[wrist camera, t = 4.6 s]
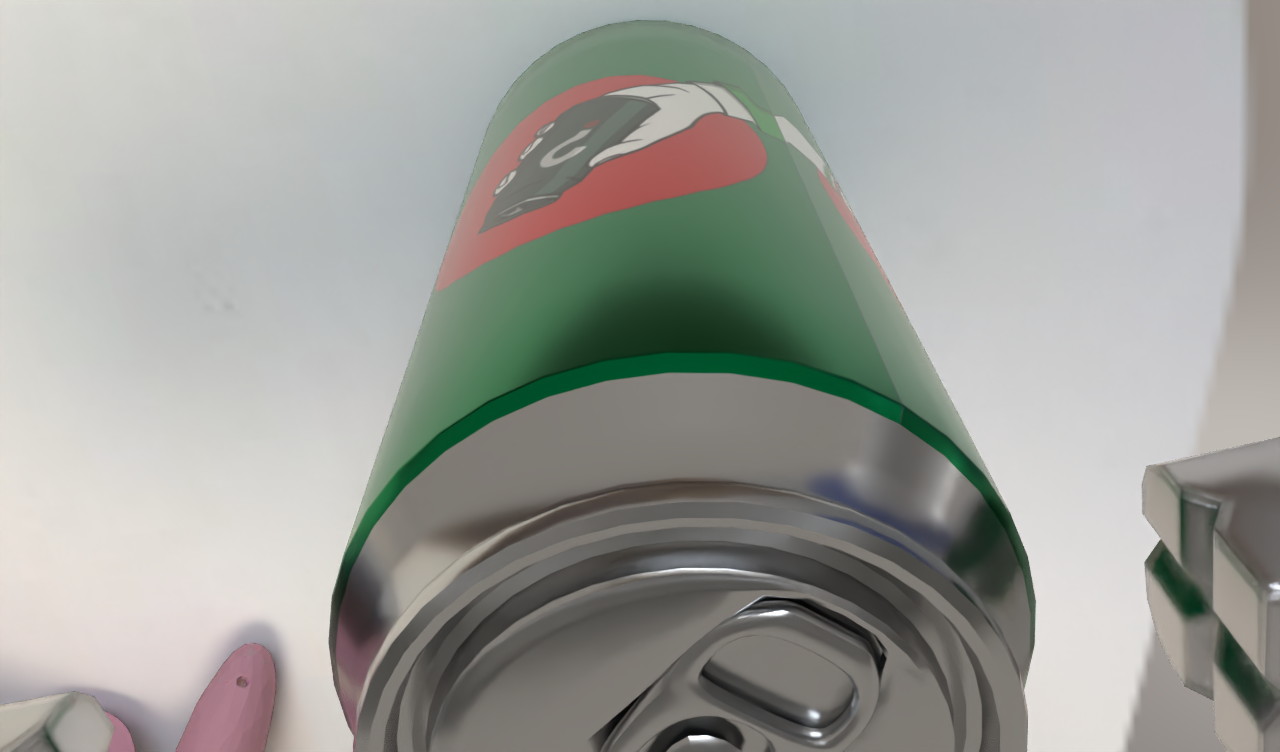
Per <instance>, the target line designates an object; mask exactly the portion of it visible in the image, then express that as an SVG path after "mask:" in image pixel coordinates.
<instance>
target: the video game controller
mask: <svg viewBox="0 0 1280 752" xmlns="http://www.w3.org/2000/svg"><path fill="white" fill-rule="evenodd" d="M275 693H276V671H275V665H274V662H273V659H272V657H271V654H270V653H269V652H268V651H267V650H266V649H265V648H264V647H263V646H261V645H259V644H256V643H251V644H245V645H243V646H242V647H240V648H239V649H237V650H236V651H234V652H233V653H232V654H231V655H230V657H229V658H228V659H227V660H226V661H225V662H224V663H223V665H222V666H221V668H220V669H219V671H218V672H217V674H216V675H215V676H214V678H213V679H212V681H211V682H210V684H209V685H208V687H207V688H206V689H205V691H204V692H203V694H202V696H201V697H200V699H199V701H198V703H197V704H196V706H195V708H194V711H193V713H192V715H191V717H190V720H189V722H188V724H187V726H186V728H185V731H184V733H183V735H182V737H181V740H180V742H179V744H178V746H177V748H176V751H175V752H264V750H265V745H266V741H267V736H268V732H269V727H270V723H271V718H272V713H273V707H274V700H275ZM104 712H105V711H104ZM105 713H106V715H107V716H108V718H109V719H110V721H111V722H112V724H113V725H114V727H115V729H114V733H113V737H112V740H111V744H110V748H109V752H136V751H135V746H134V744H133V741H132V738H131V735H130V733H129V731H128V729H127V728H126V726H125V725H124V724H123V723H122V722H121V721H120V720H119V719H118V718H116V717H115V716H113V715H111V714H109V713H107V712H105Z"/></svg>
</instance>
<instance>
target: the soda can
mask: <svg viewBox="0 0 1280 752" xmlns="http://www.w3.org/2000/svg"><path fill="white" fill-rule="evenodd" d="M1035 608H1036V600H1035V594H1034V589H1033V583H1032V577H1031V572H1030V566H1029V561H1028V556H1027V554H1026V551H1025V549H1024V546H1023V544H1022V541H1021V539H1020V536H1019V534H1018V531H1017V529H1016V526H1015V524H1014V521H1013V519H1012V516H1011V514H1010V512H1009V510H1008V508H1007V506H1006V504H1005V502H1004V500H1003V498H1002V496H1001V495H1000V493H999V491H998V489H997V487H996V485H995V483H994V481H993V479H992V477H991V475H990V474H989V472H988V470H987V468H986V466H985V464H984V462H983V460H982V458H981V456H980V454H979V453H978V451H977V449H976V447H975V445H974V443H973V441H972V439H971V437H970V435H969V433H968V432H967V430H966V428H965V426H964V424H963V422H962V420H961V418H960V416H959V414H958V412H957V411H956V409H955V407H954V405H953V403H952V401H951V399H950V397H949V395H948V393H947V391H946V390H945V388H944V386H943V384H942V382H941V380H940V378H939V376H938V374H937V372H936V370H935V369H934V367H933V365H932V363H931V361H930V359H929V357H928V355H927V353H926V351H925V349H924V348H923V346H922V344H921V342H920V340H919V338H918V336H917V334H916V332H915V330H914V328H913V327H912V325H911V323H910V321H909V319H908V317H907V315H906V313H905V311H904V309H903V307H902V306H901V304H900V302H899V300H898V298H897V296H896V294H895V292H894V290H893V288H892V286H891V285H890V283H889V281H888V279H887V277H886V275H885V273H884V271H883V269H882V267H881V265H880V264H879V262H878V260H877V258H876V256H875V254H874V252H873V250H872V248H871V246H870V244H869V243H868V241H867V239H866V237H865V235H864V233H863V231H862V229H861V227H860V225H859V223H858V222H857V220H856V218H855V216H854V214H853V212H852V210H851V208H850V206H849V204H848V202H847V200H846V199H845V197H844V195H843V193H842V191H841V189H840V187H839V185H838V183H837V181H836V179H835V178H834V176H833V174H832V172H831V170H830V168H829V166H828V164H827V162H826V160H825V158H824V157H823V155H822V153H821V151H820V149H819V147H818V145H817V143H816V141H815V139H814V137H813V136H812V134H811V132H810V130H809V128H808V126H807V124H806V122H805V120H804V118H803V116H802V115H801V113H800V111H799V109H798V107H797V106H796V104H795V102H794V101H793V99H792V98H791V96H790V95H789V93H788V91H787V90H786V88H785V87H784V85H783V84H782V83H781V82H780V81H779V80H778V79H777V78H776V76H775V75H774V74H773V73H772V72H771V71H770V70H769V69H768V68H767V67H766V66H765V65H764V64H763V63H762V62H760V61H759V60H758V59H757V58H755V57H754V56H753V55H752V54H750V53H749V52H748V51H747V50H745V49H744V48H742V47H740V46H739V45H737V44H735V43H733V42H731V41H730V40H728V39H726V38H724V37H722V36H720V35H718V34H715V33H712V32H709V31H707V30H704V29H701V28H698V27H695V26H692V25H686V24H681V23H675V22H670V21H650V20H636V21H629V22H622V23H615V24H609V25H605V26H602V27H599V28H596V29H593V30H589V31H586V32H583V33H581V34H579V35H577V36H575V37H573V38H571V39H569V40H567V41H565V42H563V43H561V44H559V45H557V46H556V47H554V48H553V49H551V50H550V51H549V52H547V53H546V54H544V55H543V56H542V57H540V58H539V59H538V60H536V61H535V62H534V63H533V64H532V65H531V66H530V67H529V68H528V69H527V70H526V71H525V72H524V73H523V74H522V75H521V76H520V77H519V78H518V79H517V80H516V81H515V82H514V84H513V85H512V86H511V88H510V89H509V91H508V92H507V94H506V95H505V96H504V98H503V99H502V101H501V102H500V103H499V105H498V108H497V110H496V112H495V114H494V116H493V118H492V120H491V122H490V124H489V126H488V129H487V132H486V134H485V137H484V140H483V143H482V146H481V149H480V152H479V155H478V158H477V161H476V164H475V167H474V170H473V173H472V176H471V179H470V182H469V185H468V188H467V191H466V194H465V197H464V200H463V203H462V206H461V209H460V212H459V214H458V217H457V220H456V223H455V226H454V229H453V232H452V235H451V238H450V241H449V244H448V247H447V250H446V253H445V256H444V259H443V262H442V265H441V268H440V271H439V274H438V277H437V280H436V283H435V286H434V289H433V291H432V294H431V297H430V300H429V303H428V306H427V309H426V312H425V315H424V318H423V321H422V324H421V327H420V330H419V333H418V336H417V339H416V342H415V345H414V348H413V351H412V354H411V357H410V360H409V363H408V366H407V368H406V371H405V374H404V377H403V380H402V383H401V386H400V389H399V392H398V395H397V398H396V401H395V404H394V407H393V410H392V413H391V416H390V419H389V422H388V425H387V428H386V431H385V434H384V437H383V440H382V443H381V445H380V448H379V451H378V454H377V457H376V460H375V463H374V466H373V469H372V472H371V475H370V478H369V481H368V484H367V487H366V490H365V493H364V496H363V499H362V502H361V505H360V508H359V511H358V514H357V517H356V520H355V523H354V525H353V528H352V531H351V534H350V537H349V540H348V543H347V546H346V549H345V552H344V556H343V559H342V563H341V566H340V570H339V573H338V577H337V580H336V584H335V587H334V591H333V594H332V601H331V615H330V629H329V649H330V657H331V665H332V672H333V680H334V686H335V689H336V692H337V695H338V698H339V700H340V703H341V706H342V709H343V712H344V715H345V718H346V721H347V724H348V727H349V728H350V730H351V732H352V734H353V735H354V743H353V752H1027V733H1028V711H1027V705H1026V700H1025V694H1024V688H1025V684H1026V679H1027V675H1028V671H1029V666H1030V662H1031V658H1032V654H1033V649H1034V643H1035Z"/></svg>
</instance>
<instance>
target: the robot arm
mask: <svg viewBox="0 0 1280 752" xmlns="http://www.w3.org/2000/svg"><path fill="white" fill-rule="evenodd" d="M1142 512H1143V515H1144V516H1145V517H1146V519H1147V520H1148V522H1149V523H1150V524H1151V526H1152V527H1153V528H1154V530H1155V531H1156V533H1157V534H1158V535H1159V537H1160V538H1161V539H1160V541H1159V542H1158V544H1157V545H1156V547H1155V548H1154V549H1153V551H1152V552H1151V554H1150V555H1149V557H1148V558H1147V559H1146V561H1145V562H1144V563H1145V576H1146V590H1147V600H1148V604H1149V607H1150V611H1151V615H1152V619H1153V622H1154V626H1155V630H1156V634H1157V636H1158V639H1159V641H1160V643H1161V645H1162V647H1163V649H1164V652H1165V654H1166V656H1167V658H1168V660H1169V662H1170V664H1171V665H1172V667H1173V668H1174V670H1175V672H1176V673H1177V675H1178V677H1179V678H1180V680H1181V681H1182V683H1183V684H1184V686H1185V687H1187V688H1189V689H1191V690H1193V691H1195V692H1197V693H1199V694H1201V695H1203V696H1205V697H1207V698H1209V699H1211V700H1213V701H1214V732H1215V733H1216V735H1217V737H1218V738H1219V739H1220V741H1221V743H1222V744H1223V746H1224V747H1225V749H1226V750H1227V752H1280V437H1277V438H1273V439H1268V440H1264V441H1259V442H1255V443H1250V444H1245V445H1241V446H1236V447H1232V448H1227V449H1222V450H1218V451H1213V452H1209V453H1204V454H1200V455H1195V456H1190V457H1186V458H1181V459H1177V460H1172V461H1168V462H1163V463H1158V464H1154V465H1149V466H1146V470H1145V474H1144V478H1143V482H1142ZM114 729H115V727H114V725H113V724H112V722H111V721H110V719H109V718H108V716H107V715H106V713H105V712H104V710H103V709H102V707H101V706H100V704H99V703H98V701H97V700H96V698H95V697H94V696H90V695H86V694H82V693H79V692H75V691H73V692H68V693H62V694H57V695H52V696H46V697H41V698H36V699H31V700H25V701H20V702H15V703H9V704H4V705H0V752H109V748H110V744H111V740H112V737H113V733H114Z"/></svg>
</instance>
